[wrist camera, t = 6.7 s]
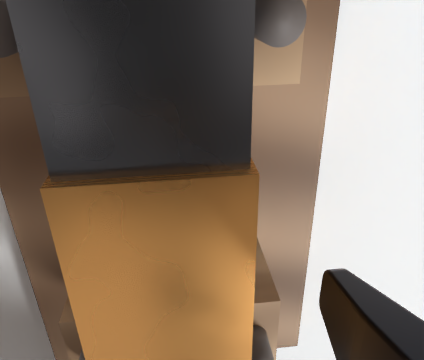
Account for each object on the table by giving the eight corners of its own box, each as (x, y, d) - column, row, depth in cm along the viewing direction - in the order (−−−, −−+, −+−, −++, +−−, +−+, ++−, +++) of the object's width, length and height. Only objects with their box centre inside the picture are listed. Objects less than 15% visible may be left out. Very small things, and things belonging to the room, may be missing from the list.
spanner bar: (226, 376, 13) (245, 500, 10) (137, 386, 13) (127, 518, 10) (224, -100, 7) (274, -182, 4) (50, -100, 7) (-62, -187, 3)
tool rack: (291, 330, 20) (338, 457, 15) (64, 354, 19) (23, 501, 13) (354, -240, 10) (583, -522, 4) (-120, -256, 9) (-576, -651, 3)
